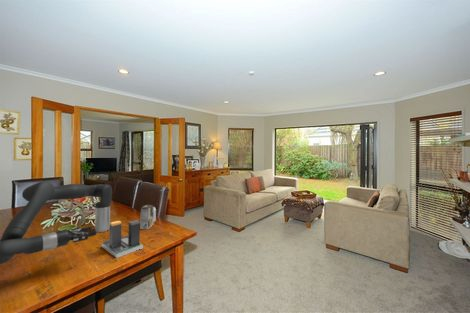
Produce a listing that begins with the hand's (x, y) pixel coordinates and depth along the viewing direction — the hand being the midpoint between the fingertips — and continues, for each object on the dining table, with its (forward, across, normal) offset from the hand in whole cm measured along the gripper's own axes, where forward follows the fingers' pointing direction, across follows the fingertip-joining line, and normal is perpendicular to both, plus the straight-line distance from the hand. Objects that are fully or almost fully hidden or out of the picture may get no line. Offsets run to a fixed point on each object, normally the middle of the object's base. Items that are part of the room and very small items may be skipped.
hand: (93, 230), depth 111 cm
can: (+50, +28, +14) cm, 60 cm away
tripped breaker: (+12, 0, +12) cm, 17 cm away
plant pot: (-2, +35, +15) cm, 38 cm away
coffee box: (+42, +20, +14) cm, 49 cm away
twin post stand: (+16, 0, +15) cm, 21 cm away
